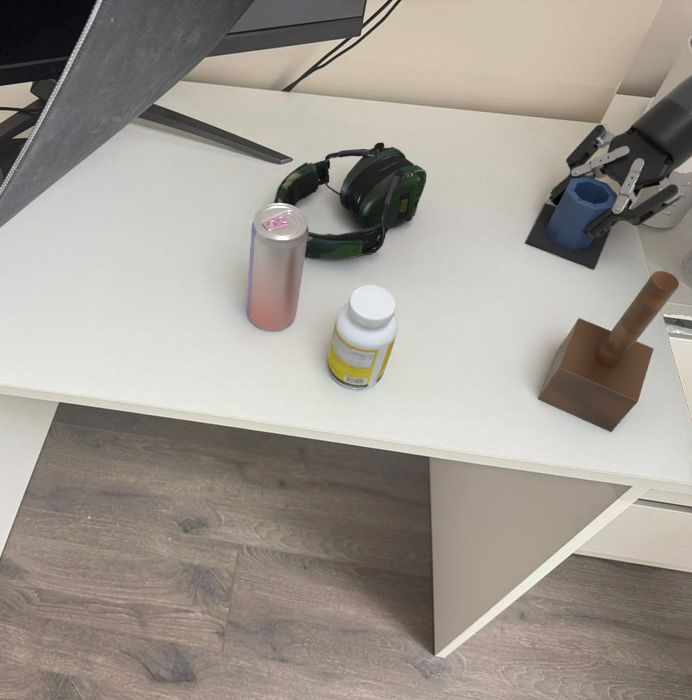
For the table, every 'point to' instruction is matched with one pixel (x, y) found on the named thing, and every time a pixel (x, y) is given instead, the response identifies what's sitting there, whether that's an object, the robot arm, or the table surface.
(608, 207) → the blue hollow octagonal tube
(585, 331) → the stand
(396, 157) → the headphones
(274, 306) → the beverage can
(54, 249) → the table surface
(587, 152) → the robot arm
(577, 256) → the pad
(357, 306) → the pill bottle
